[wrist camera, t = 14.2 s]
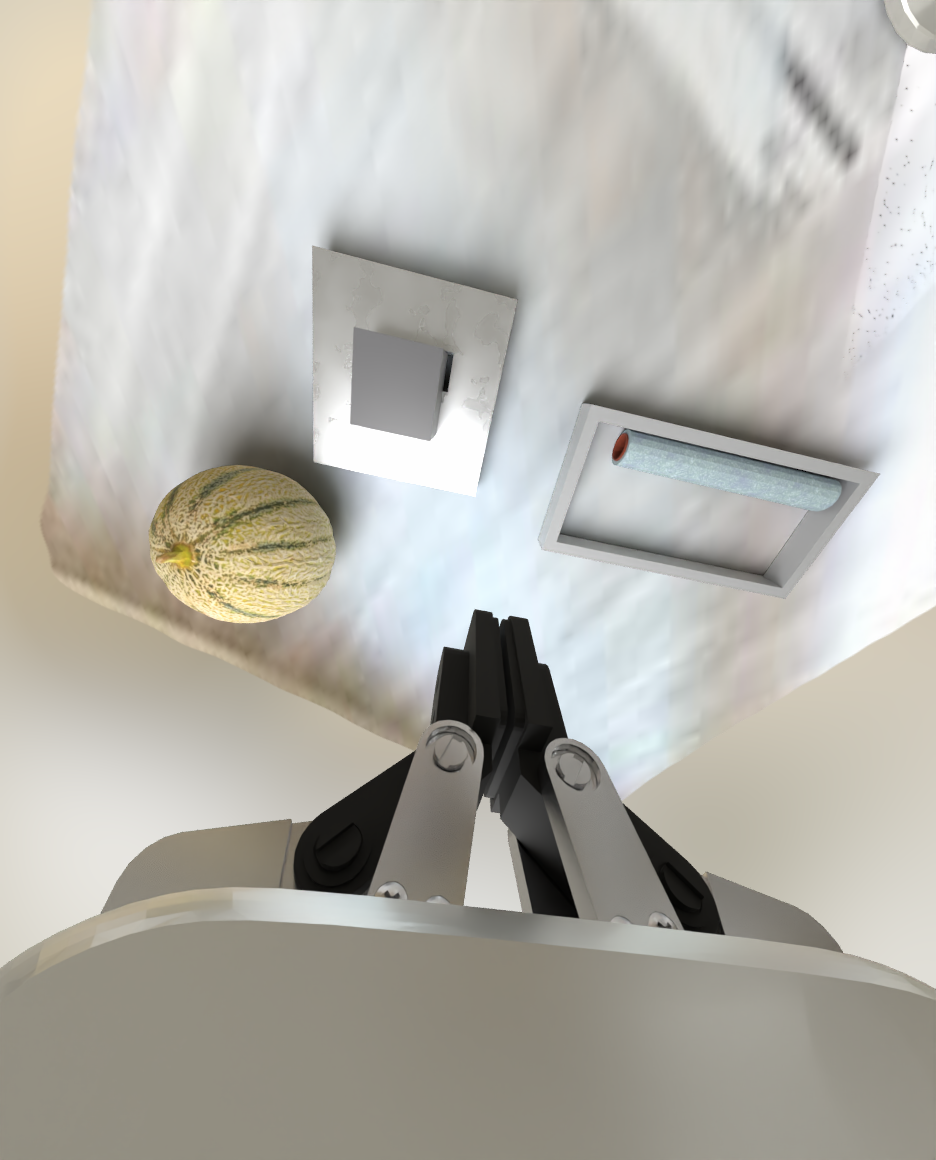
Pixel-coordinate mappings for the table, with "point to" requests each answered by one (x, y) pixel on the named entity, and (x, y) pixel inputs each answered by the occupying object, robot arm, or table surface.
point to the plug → (396, 384)
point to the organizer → (773, 583)
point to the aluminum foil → (724, 471)
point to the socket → (419, 314)
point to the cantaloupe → (242, 544)
